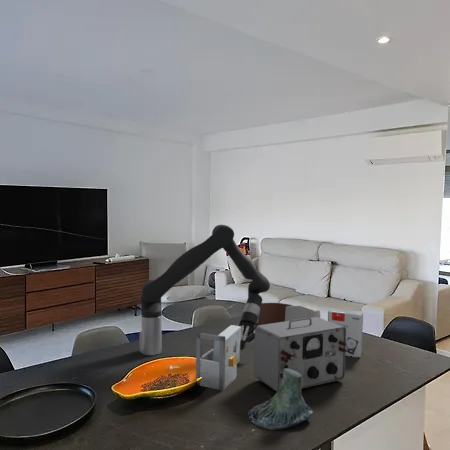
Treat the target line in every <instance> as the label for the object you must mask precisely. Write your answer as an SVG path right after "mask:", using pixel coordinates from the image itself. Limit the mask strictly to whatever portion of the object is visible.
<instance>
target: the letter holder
mask: <svg viewBox="0 0 450 450" xmlns="http://www.w3.org/2000/svg"><path fill="white" fill-rule="evenodd" d="M287 306H294V305H293V304H290V303H281V302H262V304H261V308H260V313H259V317H258V320H257V326H258V325H264V324H271V323H278V322H285V312H286V307H287Z"/></svg>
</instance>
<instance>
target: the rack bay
mask: <svg viewBox="0 0 450 450" xmlns="http://www.w3.org/2000/svg"><path fill="white" fill-rule="evenodd" d="M203 340H209V341H210V340H211V341H213V342H214V341H220V348H219V362H216V361H213V355H214V348H211V349H210V350H208V351H206V352H205V353H204V354H203ZM195 342H196V349H195V350H196V351H195V352H196V353H195V354H196V356H195V358H196V359H195V363H196V365H195V368H196V369H195V380H196V379H197V378H200V377H202V380H201V381H200V382H199V385H200V386H201V387H205V388H210V389H214V390H219V391H224V390H226V389H227V387H228V386H229V385H230V384H231V383H232V382H233V381H234V380H236V378H237V372H238V371H237V368H238V367H237V366H238V363H237V353H235V352H234V353H233V354H231V355H230V356H229V357H228V358H226V359H225V336H219V334H211V333H205V332H199V331H198V332H196V340H195ZM200 386H199V387H200Z"/></svg>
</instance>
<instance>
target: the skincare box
mask: <svg viewBox="0 0 450 450" xmlns="http://www.w3.org/2000/svg"><path fill="white" fill-rule="evenodd" d="M218 335H219V336H225V359H226V358H228V357H229V356H230V355H231V354H233V353H234V352H235V353H237V364H238V363H240V356H241V354H240V353H241V350H240V340H241V326H238V325H232V324H230V325H229V326H228V327H227V328H225V329H224V330H223V331H222V332H220V333H219V334H218ZM219 348H220V341H214V340H213V349H214V355H213V361H216V362H219Z"/></svg>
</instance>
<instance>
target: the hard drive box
mask: <svg viewBox="0 0 450 450" xmlns="http://www.w3.org/2000/svg"><path fill="white" fill-rule="evenodd" d="M327 321H329V322H332V323H335V324H337V325H340V326H343V327H345V328H346V352H345V357H346V356H347V357H350V356H352V358H358V357H359V358H358V359H360V358H361V356H362V353H361V352H362V349H363V346H362V345H363V328H364V327H363V325H364V311H360V310H354V309H353V310H351V309H344V308H343V309H342V308H335V307H334V308H333V307H330V308H329V310H327Z"/></svg>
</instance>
